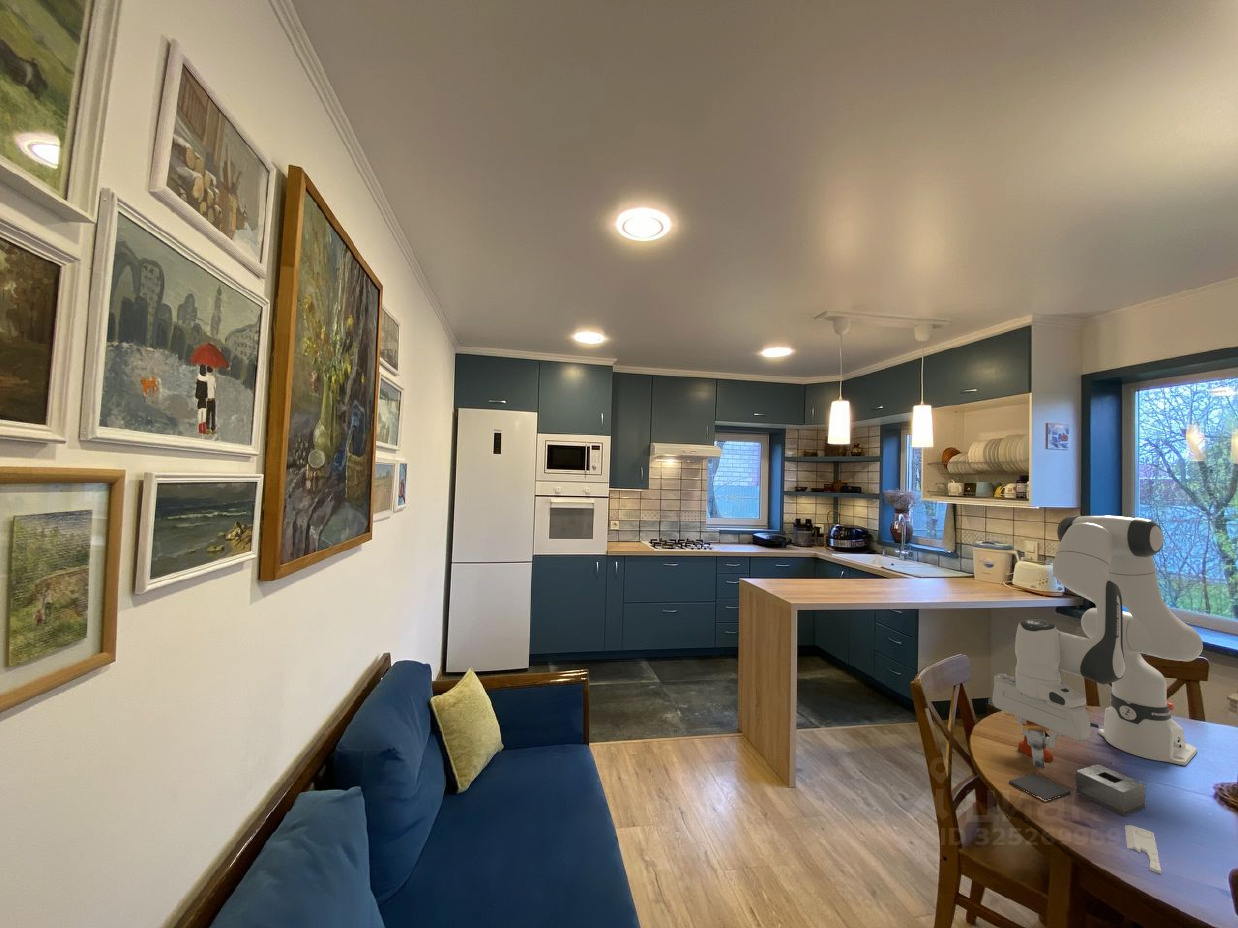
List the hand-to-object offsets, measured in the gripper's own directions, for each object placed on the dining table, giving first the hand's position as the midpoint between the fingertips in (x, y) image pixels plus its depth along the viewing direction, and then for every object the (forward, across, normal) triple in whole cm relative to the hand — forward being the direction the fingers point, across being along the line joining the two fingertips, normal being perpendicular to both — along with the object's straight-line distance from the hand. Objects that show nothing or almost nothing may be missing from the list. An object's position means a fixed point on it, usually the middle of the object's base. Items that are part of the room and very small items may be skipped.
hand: (1038, 740), depth 126 cm
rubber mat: (+12, 0, 0) cm, 12 cm away
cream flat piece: (+12, +20, -3) cm, 24 cm away
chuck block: (+12, +9, +11) cm, 19 cm away
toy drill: (+12, -6, +18) cm, 23 cm away
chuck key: (+6, 0, 0) cm, 6 cm away
